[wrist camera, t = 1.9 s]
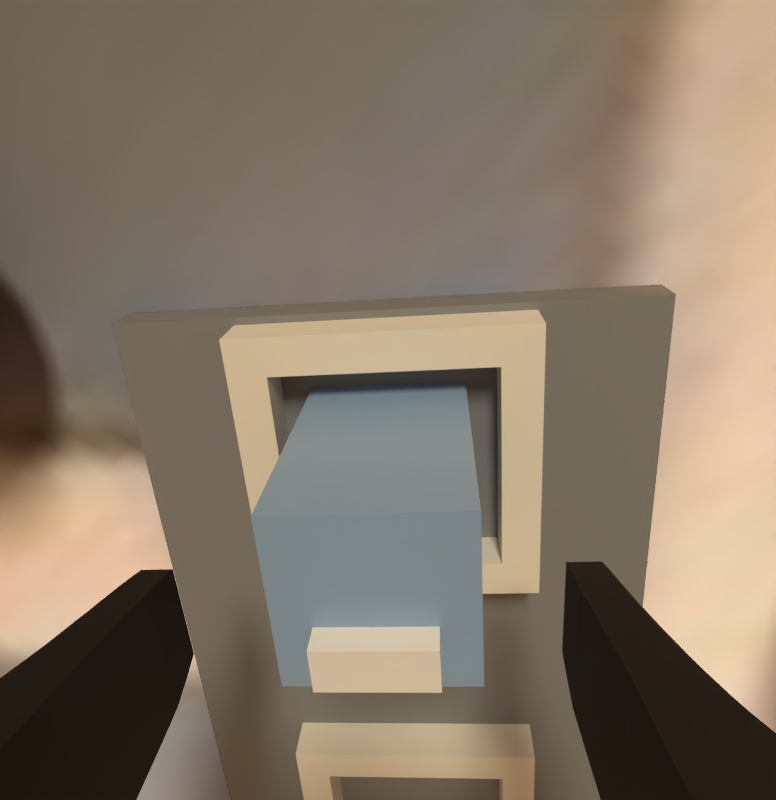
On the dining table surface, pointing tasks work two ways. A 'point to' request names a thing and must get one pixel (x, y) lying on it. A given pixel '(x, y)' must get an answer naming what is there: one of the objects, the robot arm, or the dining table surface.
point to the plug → (375, 542)
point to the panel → (500, 520)
